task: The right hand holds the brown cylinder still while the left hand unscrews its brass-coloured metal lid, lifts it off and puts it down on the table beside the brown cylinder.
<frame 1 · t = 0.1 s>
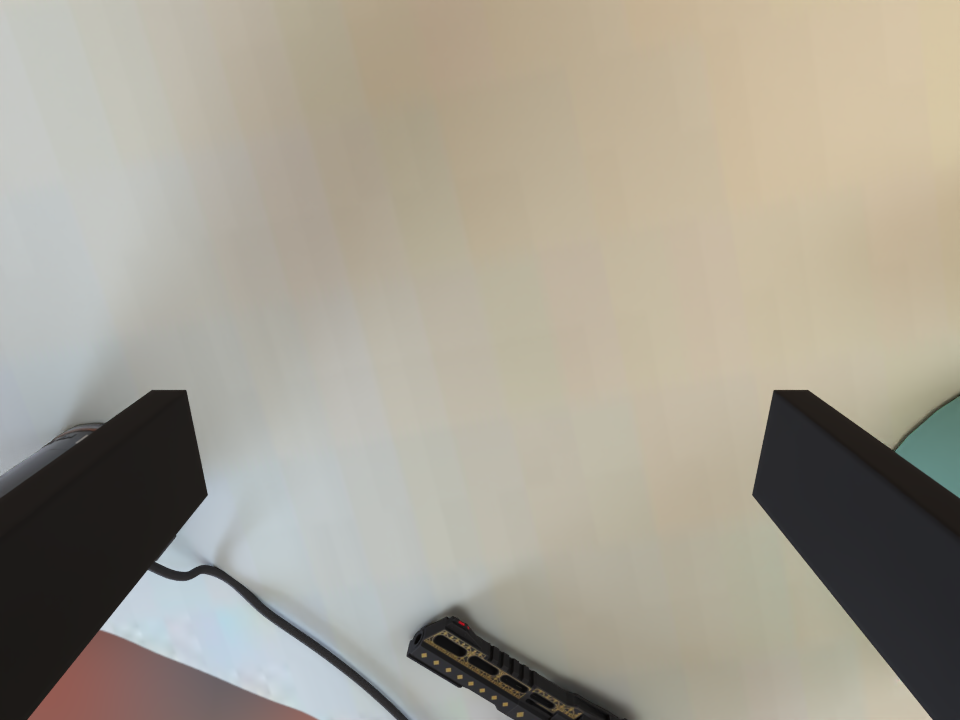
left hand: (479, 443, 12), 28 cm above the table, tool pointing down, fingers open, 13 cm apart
decorative firearm: (521, 713, 55), on the table
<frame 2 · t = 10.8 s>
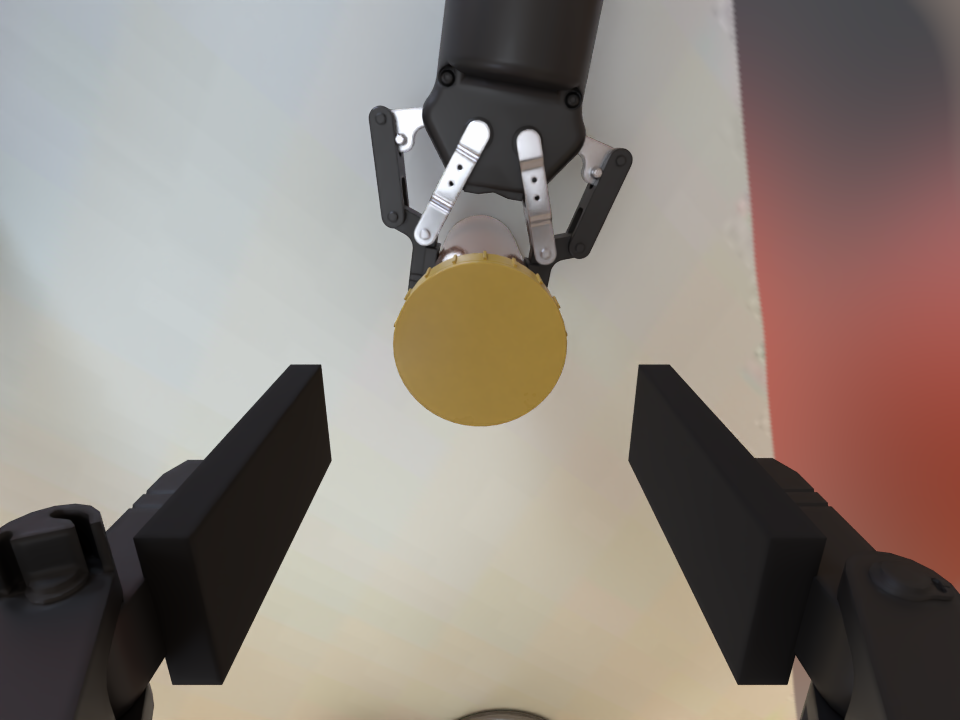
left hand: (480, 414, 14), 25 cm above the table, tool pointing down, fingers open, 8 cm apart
right hand: (473, 314, 32), fingers closed on brown cylinder, 5 cm apart
lid: (480, 345, 19), point 20 cm above the table, screwed on, not yet turned
brown cylinder: (480, 252, 37), on the table, touching right hand
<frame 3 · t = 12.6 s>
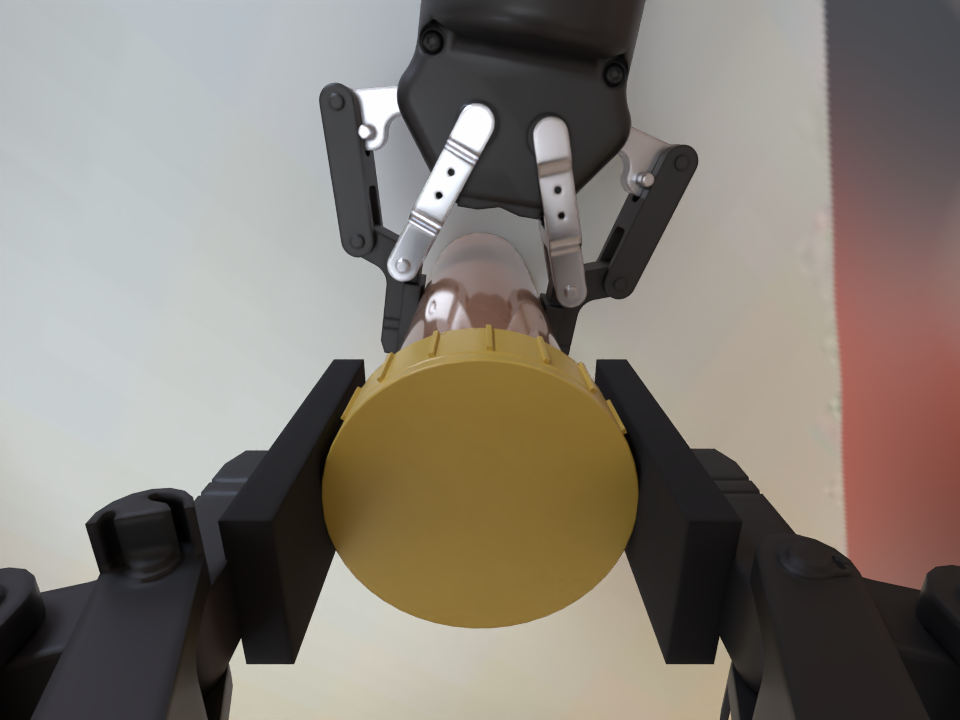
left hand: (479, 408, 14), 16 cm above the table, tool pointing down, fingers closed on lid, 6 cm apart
right hand: (471, 371, 24), fingers closed on brown cylinder, 5 cm apart
lid: (480, 497, 10), point 20 cm above the table, screwed on, not yet turned, touching left hand
brown cylinder: (480, 280, 29), on the table, touching right hand
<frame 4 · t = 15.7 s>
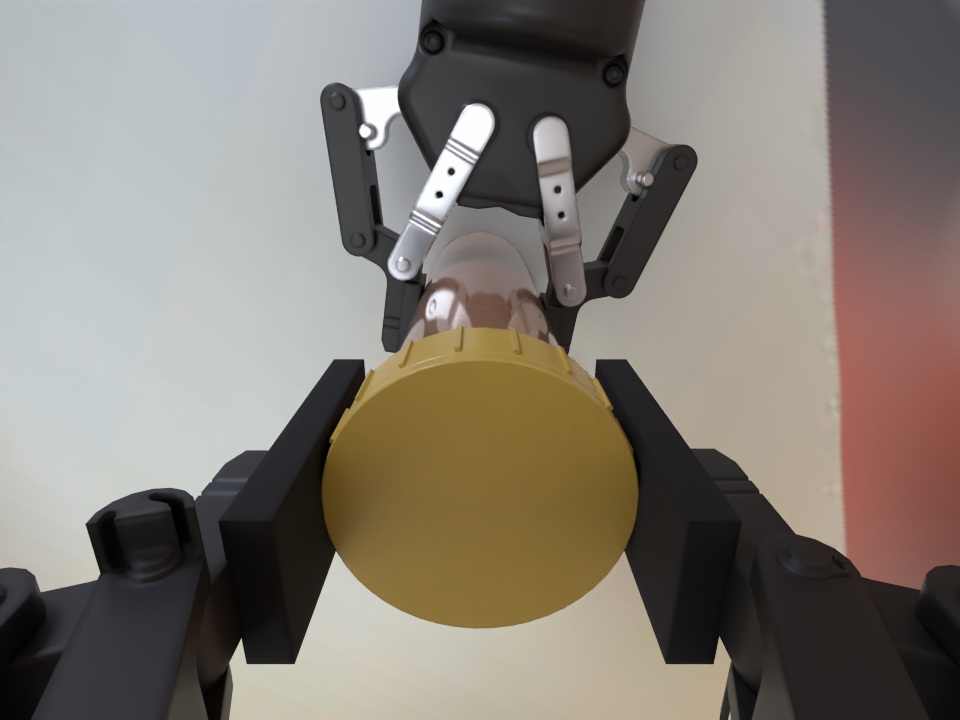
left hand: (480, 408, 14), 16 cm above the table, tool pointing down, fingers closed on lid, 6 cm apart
right hand: (471, 369, 24), fingers closed on brown cylinder, 5 cm apart
lid: (480, 496, 10), point 20 cm above the table, turned 91° so far, risen 0.1 cm, still on its thread, touching left hand
brown cylinder: (480, 279, 29), on the table, touching right hand
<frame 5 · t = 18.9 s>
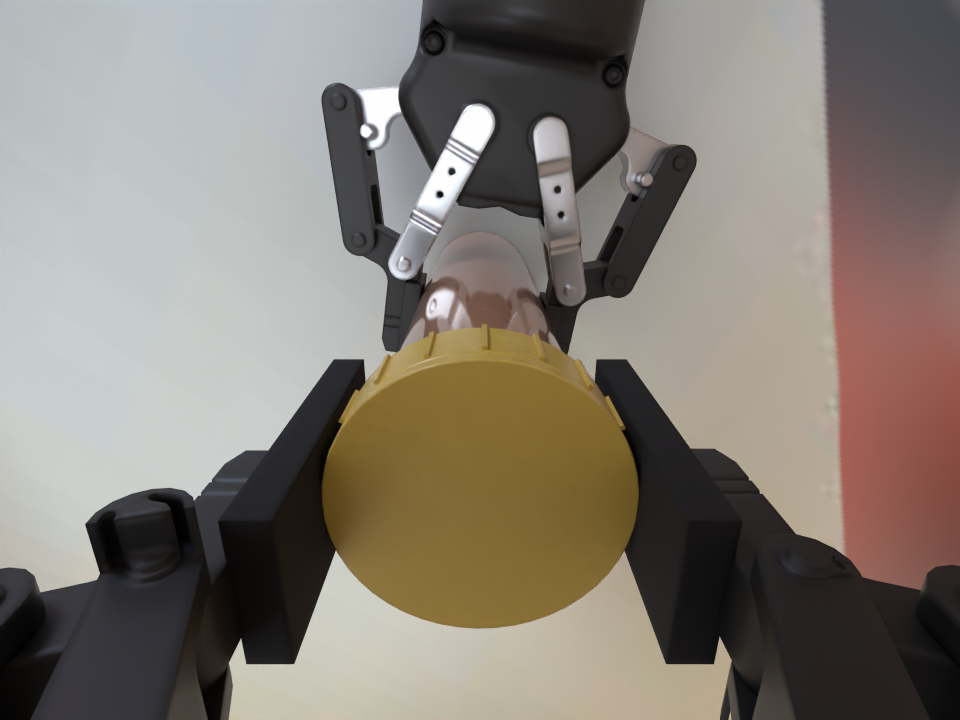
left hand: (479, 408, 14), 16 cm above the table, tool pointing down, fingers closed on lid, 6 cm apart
right hand: (471, 369, 24), fingers closed on brown cylinder, 5 cm apart
lid: (480, 496, 10), point 20 cm above the table, turned 182° so far, risen 0.2 cm, still on its thread, touching left hand
brown cylinder: (480, 279, 29), on the table, touching right hand
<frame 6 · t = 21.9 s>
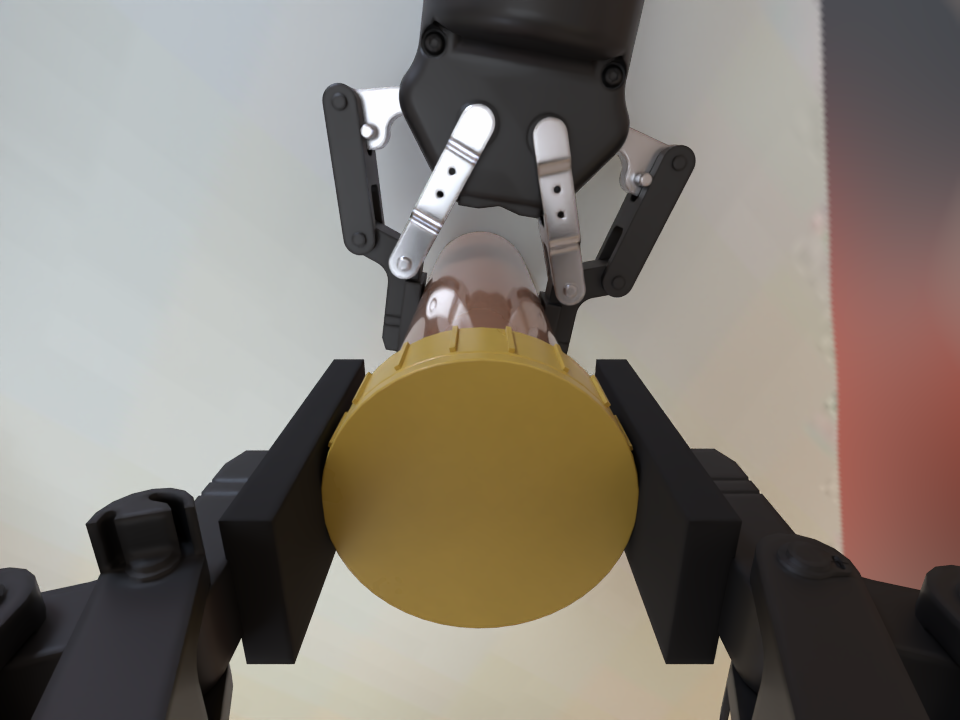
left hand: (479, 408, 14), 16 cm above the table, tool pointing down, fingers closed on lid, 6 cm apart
right hand: (471, 368, 24), fingers closed on brown cylinder, 5 cm apart
lid: (480, 496, 10), point 20 cm above the table, turned 273° so far, risen 0.3 cm, still on its thread, touching left hand
brown cylinder: (480, 279, 29), on the table, touching right hand
when the left hand's fingers open (1 cm above the table, at t = 33.7 s): lid drops 3 cm, point 1 cm above the table.
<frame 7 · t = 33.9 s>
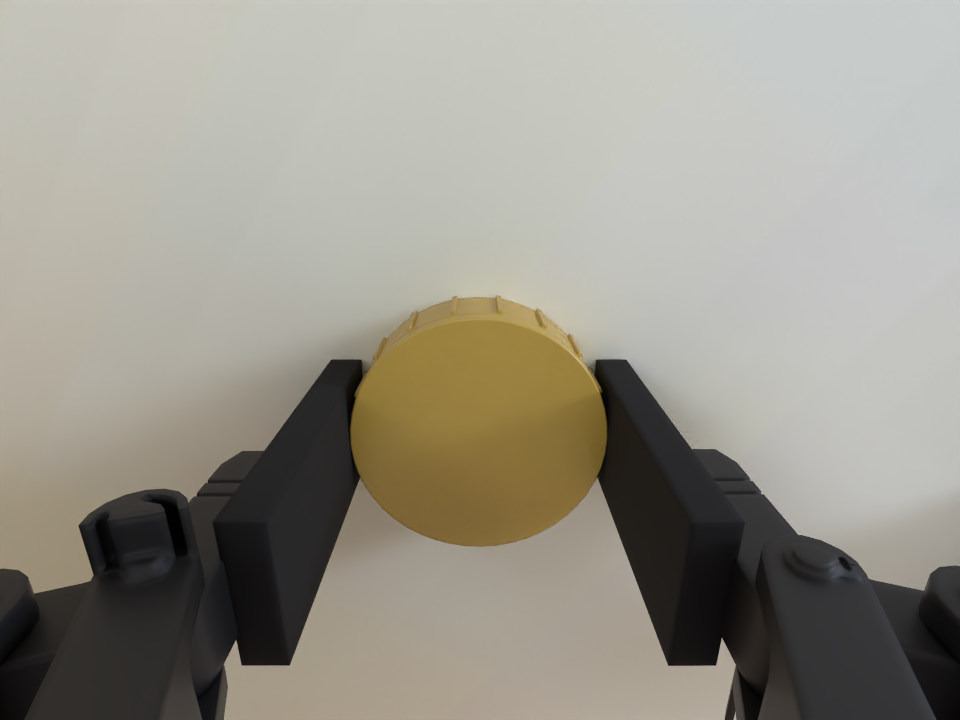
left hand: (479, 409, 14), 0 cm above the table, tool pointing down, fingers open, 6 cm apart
lid: (478, 434, 13), point 1 cm above the table, off its thread, touching left hand
when the right hand's fingers open (7 cm above the table, at t = 35.5 s): brown cylinder stays where it is, on the table.
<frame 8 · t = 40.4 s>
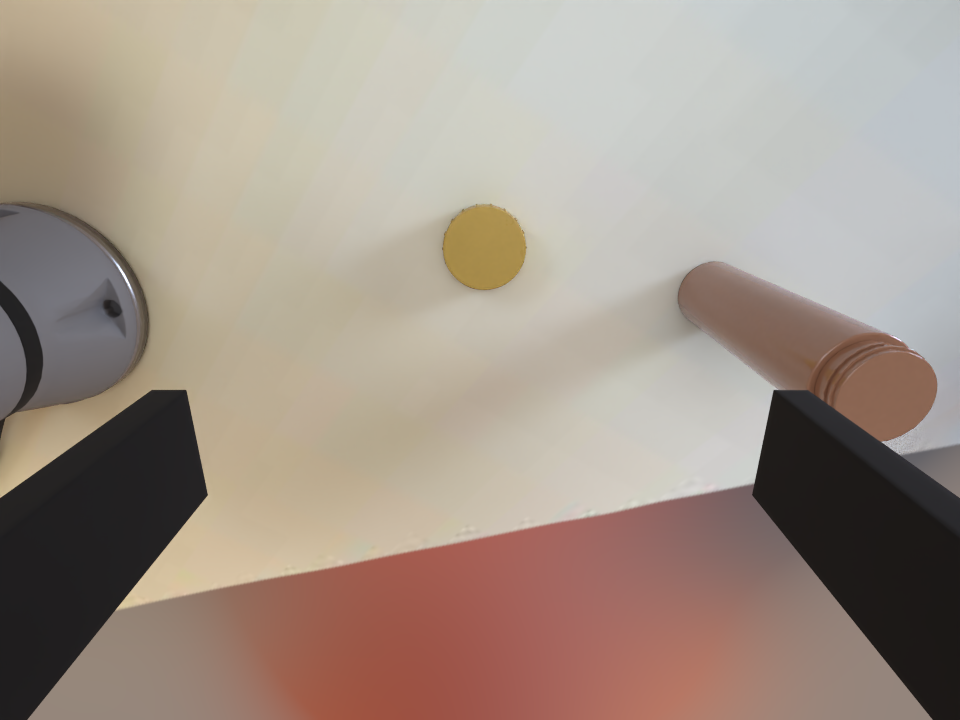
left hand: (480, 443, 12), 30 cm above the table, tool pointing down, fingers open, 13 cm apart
lid: (484, 248, 39), point 2 cm above the table, off its thread
brown cylinder: (710, 293, 42), on the table
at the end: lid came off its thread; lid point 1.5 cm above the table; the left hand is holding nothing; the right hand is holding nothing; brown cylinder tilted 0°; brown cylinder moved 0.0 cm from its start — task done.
